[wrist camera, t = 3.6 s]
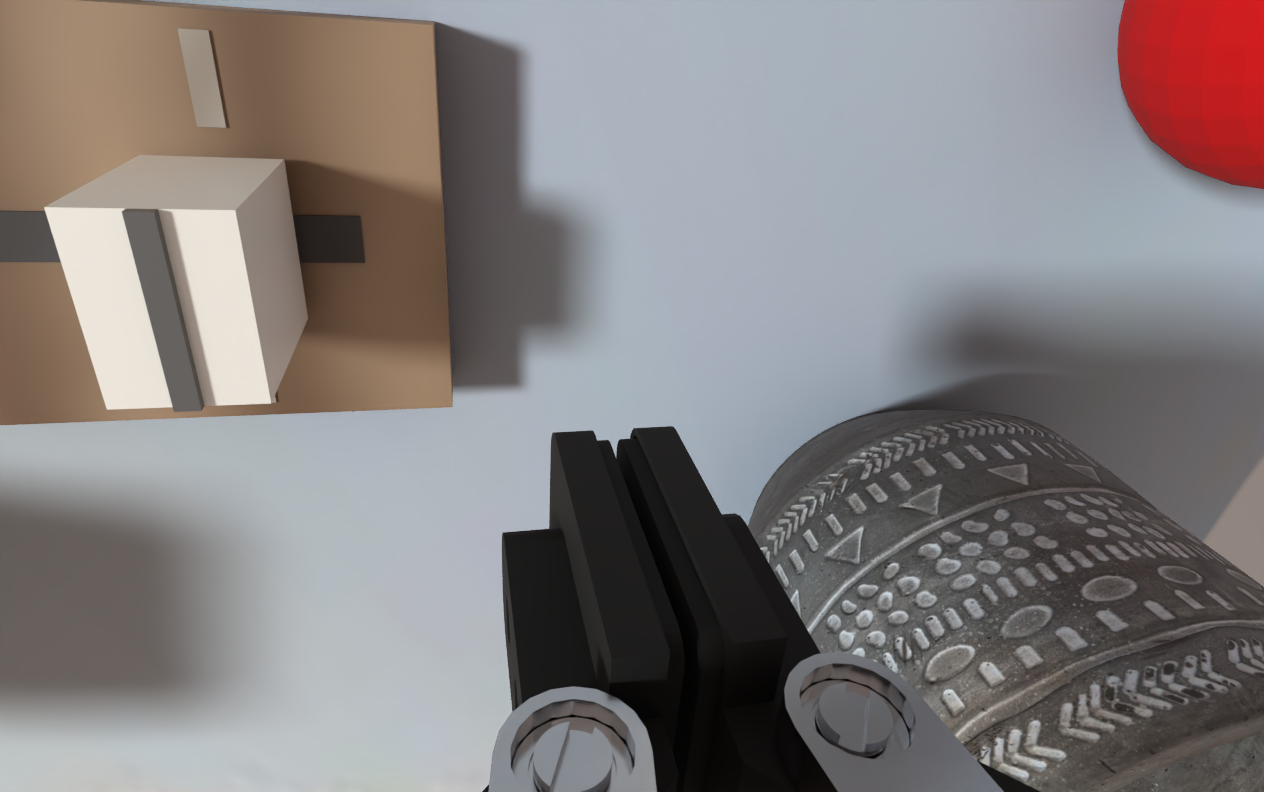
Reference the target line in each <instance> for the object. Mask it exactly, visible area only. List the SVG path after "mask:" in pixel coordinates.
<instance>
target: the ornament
mask: <svg viewBox="0 0 1264 792" xmlns="http://www.w3.org/2000/svg"><path fill="white" fill-rule="evenodd" d="M1118 65H1119V73H1120V81H1121V87H1122V90H1123V92H1124V95H1125V98H1126V101H1127V103H1128V106H1129V108H1130V110H1131V111H1132V113H1133V115H1134V116H1135V118H1136V120H1137V121H1138V123H1139V124H1140V126H1141V127H1142V128H1143V130H1144V131H1145V133H1146V134H1147V136H1148V137H1149V138H1150V140H1151V141H1153V142H1154V143H1155V144H1157V145H1158V146H1159V147H1160V148H1162V149H1163V150H1164V151H1166V152H1167V153H1168V154H1169V155H1171V156H1172V157H1173V158H1175V159H1176V160H1177V161H1179V162H1180V163H1181V164H1182V165H1184V166H1185V167H1187V168H1190V169H1192V170H1195V171H1197V172H1200V173H1202V174H1205V175H1208V176H1210V177H1213V178H1216V179H1218V180H1221V181H1224V182H1227V183H1230V184H1233V185H1240V186H1247V187H1254V188H1261V189H1264V0H1125V2H1124V6H1123V11H1122V15H1121V20H1120V25H1119V34H1118Z"/></svg>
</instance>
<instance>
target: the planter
mask: <svg viewBox="0 0 1264 792" xmlns="http://www.w3.org/2000/svg"><path fill="white" fill-rule="evenodd" d="M748 528H749V530H750V532H751V533H752V535H753V537H754V538H755V540H756V542H757V544H758V545H759V547H760V549H761V551H762V552H763V554H764V556H765V558H766V559H767V561H768V563H769V564H770V566H771V568H772V570H773V571H774V573H775V575H776V577H777V578H778V580H779V582H780V583H781V585H782V587H783V589H784V590H785V592H786V594H787V596H788V597H789V599H790V601H791V602H792V604H793V606H794V608H795V609H796V611H797V613H798V615H799V616H800V618H801V620H802V621H803V623H804V625H805V627H806V628H807V630H808V632H809V634H810V635H811V637H812V639H813V640H814V642H815V644H816V646H817V647H818V649H819V651H820V653H821V654H822V653H830V652H840V653H848V654H856V655H859V656H862V657H865V658H867V659H870V660H873V661H876V662H878V663H880V664H882V665H883V666H885V667H887V668H888V669H890V670H892V671H893V672H895V673H897V674H898V675H899V676H900V677H902V678H903V679H904V680H905V681H906V682H907V683H908V684H909V685H910V686H911V687H912V688H914V689H915V691H916V692H917V693H918V694H919V695H920V696H921V697H922V699H923V700H924V701H925V702H926V703H927V704H928V705H929V707H930V708H931V709H932V710H933V711H934V712H935V713H936V715H937V716H938V717H939V718H940V719H941V720H942V721H943V723H944V724H945V725H946V726H947V727H948V728H949V729H950V731H951V732H952V733H953V734H954V735H955V736H956V738H957V739H958V740H959V741H960V742H961V743H962V744H963V746H964V747H965V748H966V749H967V750H968V751H969V752H970V754H971V755H972V756H973V757H974V758H975V759H976V760H977V761H979V762H981V763H983V764H985V765H987V766H989V767H991V768H993V769H996V770H998V771H1000V772H1002V773H1004V774H1006V775H1008V776H1010V777H1012V778H1014V779H1016V780H1018V781H1020V782H1022V783H1024V784H1026V785H1028V786H1030V787H1032V788H1034V789H1036V790H1038V791H1040V792H1264V587H1263V586H1262V585H1260V584H1259V583H1257V582H1256V581H1255V580H1253V579H1252V578H1251V577H1249V576H1248V575H1247V574H1245V573H1244V572H1242V571H1241V570H1240V569H1239V568H1237V567H1236V566H1234V565H1233V564H1232V563H1230V562H1229V561H1227V560H1226V559H1225V558H1223V557H1222V556H1221V555H1219V554H1218V553H1217V552H1215V551H1214V550H1213V549H1211V548H1209V547H1208V546H1207V545H1206V544H1204V543H1203V542H1202V541H1200V540H1199V539H1197V538H1196V537H1195V536H1193V535H1192V534H1191V533H1189V532H1188V531H1186V530H1185V529H1184V528H1182V527H1181V526H1179V525H1178V524H1177V523H1175V522H1174V521H1172V520H1171V519H1170V518H1168V517H1167V516H1165V515H1164V514H1162V513H1161V512H1159V511H1158V510H1157V509H1156V508H1155V507H1154V506H1152V505H1151V504H1150V503H1149V502H1148V501H1146V500H1145V499H1144V498H1143V497H1141V496H1140V495H1139V494H1138V493H1137V492H1135V491H1134V490H1133V489H1132V488H1130V487H1129V486H1128V485H1127V484H1125V483H1124V482H1123V481H1122V480H1120V479H1119V478H1118V477H1116V476H1115V475H1114V474H1113V473H1111V472H1110V471H1109V470H1108V469H1106V468H1105V467H1103V466H1102V465H1101V464H1099V463H1098V462H1096V461H1095V460H1094V459H1092V458H1091V457H1090V456H1088V455H1087V454H1085V453H1084V452H1082V451H1081V450H1079V449H1078V448H1077V447H1075V446H1074V445H1072V444H1071V443H1069V442H1068V441H1066V440H1065V439H1063V438H1062V437H1060V436H1059V435H1057V434H1056V433H1054V432H1053V431H1051V430H1050V429H1048V428H1046V427H1044V426H1042V425H1039V424H1037V423H1034V422H1032V421H1029V420H1026V419H1022V418H1019V417H1014V416H1008V415H1003V414H995V413H987V412H978V411H963V410H907V411H891V412H879V413H873V414H868V415H864V416H860V417H856V418H853V419H851V420H848V421H845V422H842V423H840V424H838V425H836V426H834V427H832V428H830V429H828V430H826V431H824V432H822V433H820V434H819V435H817V436H816V437H814V438H812V439H811V440H809V441H808V442H807V443H805V444H804V445H803V446H801V447H800V448H799V449H798V450H796V451H795V452H794V453H793V454H792V455H791V456H790V457H789V458H788V459H787V460H786V461H785V462H784V463H783V464H782V465H781V466H780V467H779V468H778V469H777V471H776V472H775V473H774V474H773V476H772V477H771V478H770V480H769V481H768V483H767V484H766V486H765V487H764V489H763V491H762V493H761V495H760V497H759V498H758V501H757V503H756V505H755V508H754V511H753V514H752V516H751V519H750V522H749V524H748Z"/></svg>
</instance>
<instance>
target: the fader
mask: <svg viewBox="0 0 1264 792" xmlns="http://www.w3.org/2000/svg"><path fill="white" fill-rule="evenodd" d="M44 209H45V212H46V216H47V219H48V222H49V225H50V228H51V232H52V235H53V238H54V241H55V244H56V248H57V251H58V254H59V257H60V261H61V264H62V267H63V270H64V273H65V277H66V280H67V283H68V286H69V290H70V293H71V296H72V299H73V302H74V306H75V309H76V312H77V315H78V318H79V322H80V325H81V328H82V331H83V335H84V338H85V341H86V344H87V347H88V351H89V354H90V357H91V360H92V364H93V367H94V370H95V373H96V376H97V380H98V383H99V386H100V389H101V392H102V396H103V399H104V402H105V405H106V409H107V410H112V409H139V408H166V407H173V410H174V412H188V411H202V410H203V408H204V406H220V405H247V404H271V403H272V401H273V399H274V396H275V394H276V392H277V389H278V387H279V385H280V382H281V380H282V378H283V376H284V373H285V371H286V369H287V366H288V364H289V362H290V359H291V357H292V355H293V352H294V350H295V348H296V345H297V343H298V341H299V338H300V336H301V334H302V332H303V329H304V327H305V325H306V322H307V320H308V314H307V308H306V301H305V294H304V288H303V281H302V274H301V268H300V261H299V254H298V248H297V241H296V234H295V228H294V221H293V214H292V207H291V201H290V194H289V187H288V181H287V174H286V167H285V161H284V159H261V158H228V157H195V156H162V155H138V156H137V157H135V158H133V159H131V160H129V161H127V162H126V163H124V164H122V165H120V166H118V167H117V168H115V169H113V170H111V171H109V172H107V173H106V174H104V175H102V176H100V177H98V178H96V179H95V180H93V181H91V182H89V183H87V184H85V185H84V186H82V187H80V188H78V189H76V190H74V191H73V192H71V193H69V194H67V195H65V196H64V197H62V198H60V199H58V200H56V201H54V202H53V203H51V204H49V205H47V206H45V207H44Z"/></svg>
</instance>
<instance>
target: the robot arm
mask: <svg viewBox="0 0 1264 792" xmlns="http://www.w3.org/2000/svg"><path fill="white" fill-rule="evenodd" d="M502 573H503V603H504V621H505V635H506V647H507V657H508V668H509V679H510V689H511V700H512V711H513V712H512V713H511V714H510V716H509V717H508V719H507V720H506V721H505V723H504V724H503V726H502V727H501V729H500V730H499V732H498V736H497V739H496V743H495V746H494V750H493V755H492V764H491V773H490V782H489V785H488V786H487V787H486V788H485V789H484V790H483V792H1040V791H1038V790H1036V789H1034V788H1032V787H1030V786H1028V785H1026V784H1024V783H1022V782H1020V781H1018V780H1016V779H1014V778H1012V777H1010V776H1008V775H1006V774H1004V773H1002V772H1000V771H998V770H996V769H993V768H991V767H989V766H987V765H985V764H983V763H981V762H979V761H977V760H976V759H975V758H974V757H973V756H972V755H971V754H970V752H969V751H968V750H967V749H966V748H965V747H964V746H963V744H962V743H961V742H960V741H959V740H958V739H957V738H956V736H955V735H954V734H953V733H952V732H951V731H950V729H949V728H948V727H947V726H946V725H945V724H944V723H943V721H942V720H941V719H940V718H939V717H938V716H937V715H936V713H935V712H934V711H933V710H932V709H931V708H930V707H929V705H928V704H927V703H926V702H925V701H924V700H923V699H922V697H921V696H920V695H919V694H918V693H917V692H916V691H915V689H914V688H912V687H911V686H910V685H909V684H908V683H907V682H906V681H905V680H904V679H903V678H902V677H900V676H899V675H898V674H897V673H895V672H893V671H892V670H890V669H888V668H887V667H885V666H883V665H882V664H880V663H878V662H876V661H873V660H870V659H867V658H865V657H862V656H859V655H856V654H848V653H840V652H830V653H822V654H821V653H820V651H819V649H818V647H817V646H816V644H815V642H814V640H813V639H812V637H811V635H810V634H809V632H808V630H807V628H806V627H805V625H804V623H803V621H802V620H801V618H800V616H799V615H798V613H797V611H796V609H795V608H794V606H793V604H792V602H791V601H790V599H789V597H788V596H787V594H786V592H785V590H784V589H783V587H782V585H781V583H780V582H779V580H778V578H777V577H776V575H775V573H774V571H773V570H772V568H771V566H770V564H769V563H768V561H767V559H766V558H765V556H764V554H763V552H762V551H761V549H760V547H759V545H758V544H757V542H756V540H755V538H754V537H753V535H752V533H751V532H750V530H749V528H748V526H747V525H746V523H745V522H744V520H743V519H742V518H741V517H740V516H739V515H737V514H724V515H722V514H721V512H720V511H719V509H718V507H717V505H716V503H715V501H714V500H713V498H712V496H711V494H710V492H709V490H708V488H707V487H706V485H705V483H704V481H703V479H702V477H701V476H700V474H699V472H698V470H697V468H696V466H695V464H694V463H693V461H692V459H691V457H690V455H689V453H688V452H687V450H686V448H685V446H684V444H683V442H682V440H681V439H680V437H679V435H678V433H677V431H676V430H675V428H674V427H671V426H670V427H651V428H634V429H633V430H632V433H631V437H630V439H620V440H619V441H618V445H617V456H616V457H615V454H614V452H613V449H612V446H611V444H610V442H609V440H601V441H597V439H596V436H595V434H594V432H593V431H576V432H557V433H553V434H552V439H551V471H550V522H549V529H542V530H530V531H518V532H506V533H503V534H502Z"/></svg>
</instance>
